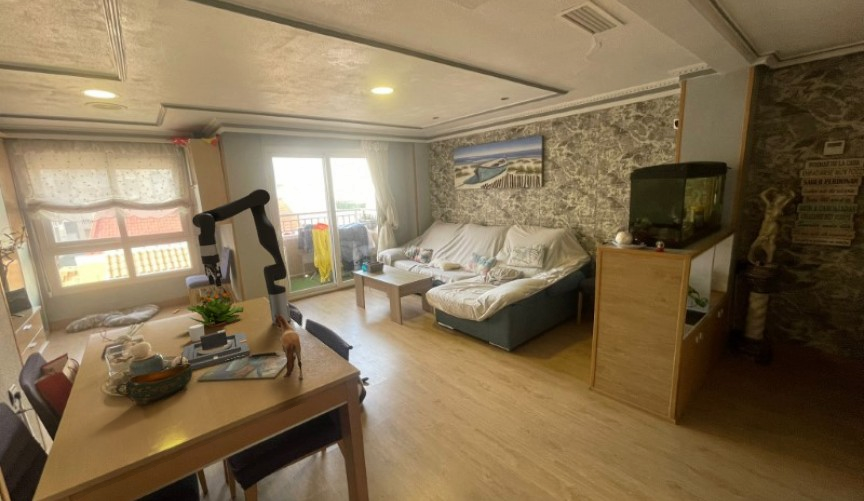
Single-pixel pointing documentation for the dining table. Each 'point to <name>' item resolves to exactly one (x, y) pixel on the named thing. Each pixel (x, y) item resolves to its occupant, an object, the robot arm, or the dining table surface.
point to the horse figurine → (289, 344)
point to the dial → (214, 343)
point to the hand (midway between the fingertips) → (215, 285)
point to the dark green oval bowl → (157, 385)
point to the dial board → (200, 361)
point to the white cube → (196, 331)
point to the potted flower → (216, 311)
